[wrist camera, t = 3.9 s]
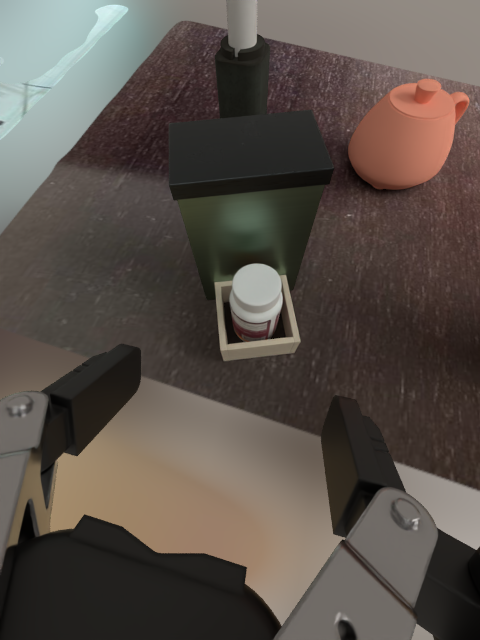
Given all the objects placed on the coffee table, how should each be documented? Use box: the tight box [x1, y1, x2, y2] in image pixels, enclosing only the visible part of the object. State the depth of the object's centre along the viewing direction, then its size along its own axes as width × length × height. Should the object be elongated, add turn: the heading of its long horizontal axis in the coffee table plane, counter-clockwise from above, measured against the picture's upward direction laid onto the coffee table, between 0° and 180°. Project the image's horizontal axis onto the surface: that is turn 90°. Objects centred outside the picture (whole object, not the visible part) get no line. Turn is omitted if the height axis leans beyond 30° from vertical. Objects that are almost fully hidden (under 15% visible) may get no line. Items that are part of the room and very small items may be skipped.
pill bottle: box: [229, 263, 283, 342], centre depth 25 cm, size 5×5×8 cm
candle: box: [215, 0, 270, 119], centre depth 28 cm, size 5×5×25 cm
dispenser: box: [169, 110, 334, 300], centre depth 25 cm, size 6×10×15 cm, turn 96°
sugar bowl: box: [348, 79, 469, 190], centre depth 34 cm, size 12×14×10 cm
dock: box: [215, 275, 300, 361], centre depth 27 cm, size 7×7×4 cm
